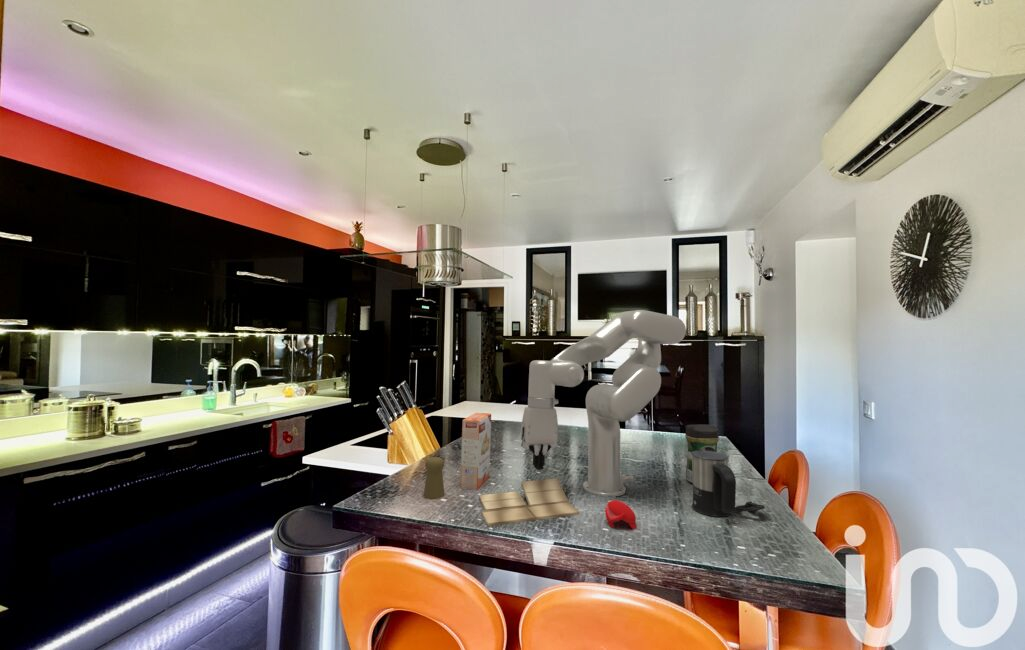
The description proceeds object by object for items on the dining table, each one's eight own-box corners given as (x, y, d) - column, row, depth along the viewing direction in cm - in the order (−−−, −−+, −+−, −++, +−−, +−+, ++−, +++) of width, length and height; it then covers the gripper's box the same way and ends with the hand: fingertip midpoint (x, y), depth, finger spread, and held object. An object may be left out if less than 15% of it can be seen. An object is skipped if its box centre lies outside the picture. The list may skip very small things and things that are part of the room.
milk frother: (683, 506, 110) (683, 451, 111) (724, 498, 116) (724, 446, 117) (729, 528, 97) (728, 466, 98) (773, 518, 103) (772, 459, 104)
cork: (448, 495, 115) (449, 456, 116) (436, 502, 110) (437, 462, 110) (431, 491, 118) (432, 453, 118) (418, 499, 112) (419, 459, 113)
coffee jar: (710, 478, 133) (710, 422, 134) (723, 487, 125) (723, 427, 126) (681, 478, 133) (681, 422, 134) (693, 487, 125) (692, 427, 126)
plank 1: (516, 495, 114) (517, 491, 114) (526, 509, 107) (526, 504, 106) (479, 499, 111) (479, 495, 111) (485, 513, 103) (486, 509, 103)
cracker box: (479, 492, 118) (480, 420, 119) (459, 490, 120) (460, 419, 120) (491, 476, 132) (492, 412, 133) (473, 475, 133) (474, 411, 134)
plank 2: (556, 481, 117) (557, 478, 117) (567, 503, 110) (568, 500, 110) (521, 484, 114) (521, 481, 113) (529, 508, 107) (530, 504, 107)
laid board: (567, 505, 109) (567, 500, 109) (579, 516, 102) (579, 511, 102) (481, 515, 102) (481, 510, 102) (488, 528, 95) (488, 522, 95)
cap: (599, 516, 95) (620, 507, 93) (602, 499, 101) (622, 490, 98) (619, 542, 96) (641, 534, 93) (621, 524, 101) (642, 516, 98)
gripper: (559, 401, 121) (557, 463, 120) (512, 401, 117) (509, 465, 116) (570, 405, 114) (568, 471, 113) (520, 405, 109) (517, 473, 108)
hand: (538, 468), depth 114 cm, fingers closed
